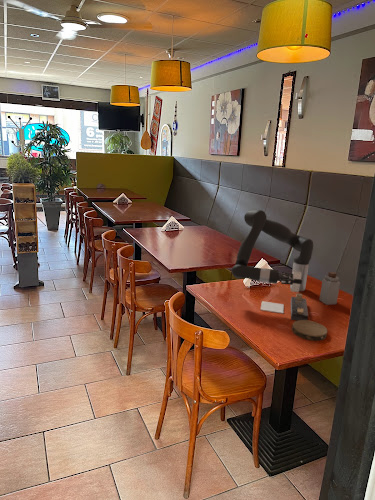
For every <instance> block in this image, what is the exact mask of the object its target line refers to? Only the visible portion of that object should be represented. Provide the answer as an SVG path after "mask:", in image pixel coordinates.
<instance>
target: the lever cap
mask: <svg viewBox="0 0 375 500" xmlns="http://www.w3.org/2000/svg"><path fill="white" fill-rule="evenodd" d="M292 278H293V279H294V280H295V279H299V280H301V272H300V271H293V277H292ZM299 287H300V284H296V283H294V284H293V285H291V288H290V292H291V293H292V292H294V293H300V291H299Z"/></svg>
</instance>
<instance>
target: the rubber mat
mask: <svg viewBox="0 0 375 500" xmlns="http://www.w3.org/2000/svg"><path fill="white" fill-rule="evenodd" d="M284 306H285V305H284V303H277V302H271V301H263V300H262V301H261V305H260V311H262V312H271V313H277V314H284V308H285V307H284Z"/></svg>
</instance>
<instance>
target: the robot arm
mask: <svg viewBox="0 0 375 500" xmlns="http://www.w3.org/2000/svg"><path fill="white" fill-rule="evenodd" d="M243 217H244V218H243V219H244V222H245V224H246V225H247V226H249V227H251V229H250V231H249V233H248V235H247V236H246V237H245V238H244V239H243V241H242V242H241V243H240V246H239V248H238V252H237V254H236V261H235V264H234V265H233V266H232V268H231V274H232V276H233V277H234V278H236V279H249V280H252V281H258V282H262V283H268V284H273V285H277V284H278V282H280V284H281V285H289V288H290V289H291V285H293V284H294V283H296V284H300V287H299V292H304V291H305V290H306V284H307V278H308V271H309V266H310V261H311V259H312V255H313V251H314V241H313V240H312V239H311V238H307V237H304V236H301V235H298V234H295V233H294V232H293V231H291V229H290V228H289V227H287V226H286V225H284V224H282V223H281V222H278V221H273V220H271V219H267V214H266V211H264V210H262V209H252V210H248V211H246V212H245V214H244V216H243ZM261 232H263V233H264V234H266V235H268V236H270V237H271V238H273V239H275V240H277V241H279V242H282V243H285V244H287V245H289V246H290V247H291V248H292V249H294V250H296V251H298V252H300V253H299V255H298V256H294V258H293V265H292V272H291V273H289V272H286V271H282V272H281V273H280V272H279V269H271V268H265V267H264V268H262V267H257V266H256V267H254V266H253V267H252V266H249V265H248V264H249V260H250V258H251V255H252V252H253V249H254V247H255V245H256V242H257V240H258V238H259V236H260V235H261ZM293 271H300V272H301V280H299V279H295V280H294V279H293V278H292V277H293Z"/></svg>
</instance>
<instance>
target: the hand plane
mask: <svg viewBox="0 0 375 500" xmlns="http://www.w3.org/2000/svg"><path fill="white" fill-rule="evenodd" d="M290 297H291V298H290V320H292V321H298V320H308V318H309V311H308V304H307V302H308V301H307V298H303V293H300V292H296V295H295V296H290Z"/></svg>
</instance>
